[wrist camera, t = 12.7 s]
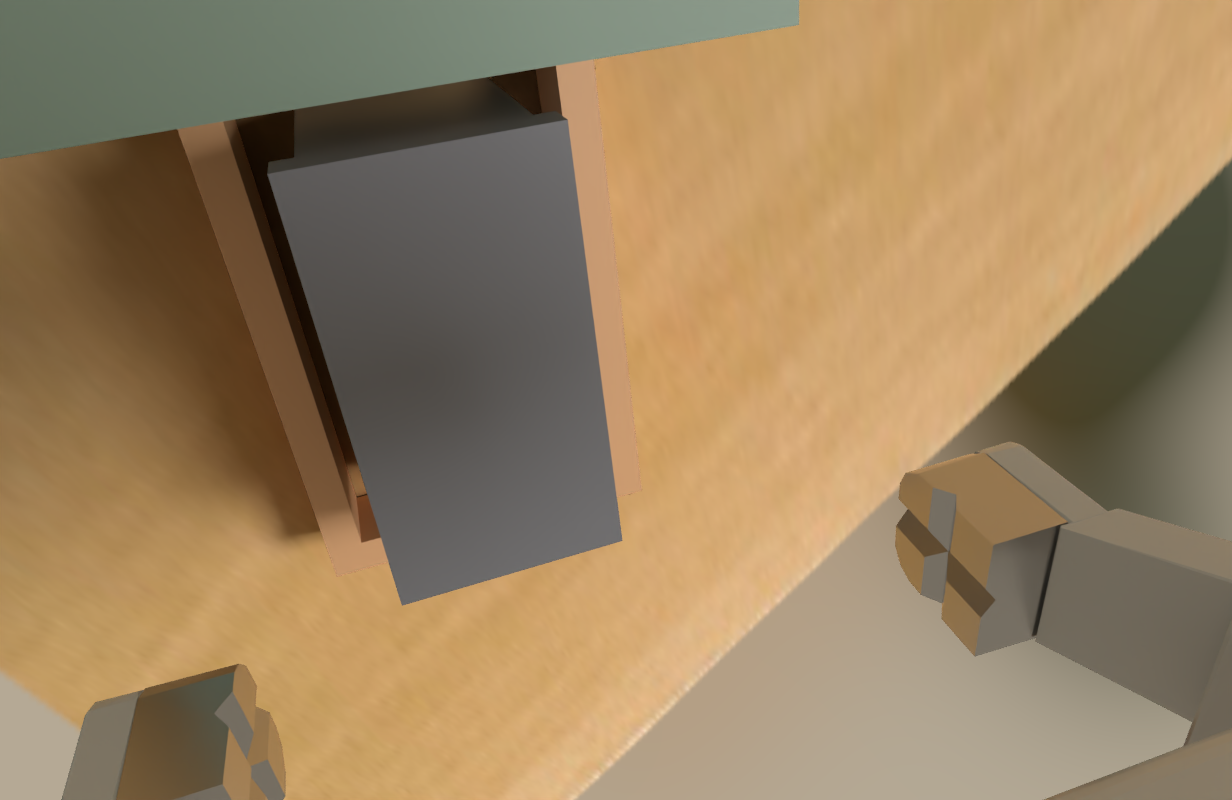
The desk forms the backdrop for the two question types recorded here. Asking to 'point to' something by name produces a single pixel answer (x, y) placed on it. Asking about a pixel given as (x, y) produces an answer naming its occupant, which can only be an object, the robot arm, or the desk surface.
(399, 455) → the grey stepped block
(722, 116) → the desk surface
